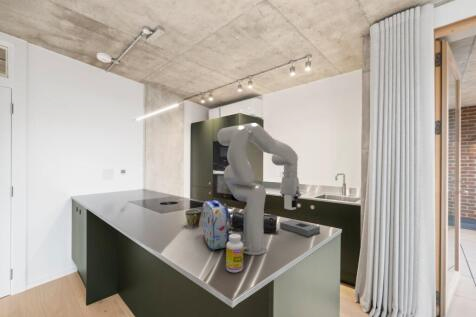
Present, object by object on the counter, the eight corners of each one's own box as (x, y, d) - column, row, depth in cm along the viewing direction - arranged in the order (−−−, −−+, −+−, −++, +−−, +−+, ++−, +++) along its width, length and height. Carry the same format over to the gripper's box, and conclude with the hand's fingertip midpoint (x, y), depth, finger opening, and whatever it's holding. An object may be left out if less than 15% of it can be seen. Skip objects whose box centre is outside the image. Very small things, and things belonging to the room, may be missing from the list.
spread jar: (226, 232, 127) (226, 212, 128) (212, 228, 134) (212, 209, 134) (238, 227, 137) (238, 208, 137) (224, 223, 144) (224, 206, 144)
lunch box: (234, 252, 99) (234, 204, 99) (212, 255, 95) (212, 206, 96) (218, 233, 125) (218, 195, 125) (200, 235, 121) (200, 196, 121)
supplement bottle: (232, 275, 79) (232, 240, 79) (222, 267, 84) (223, 235, 85) (246, 269, 83) (246, 236, 83) (236, 263, 88) (236, 231, 89)
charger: (290, 209, 119) (291, 195, 119) (284, 208, 122) (284, 194, 123) (296, 209, 122) (296, 194, 122) (289, 207, 125) (289, 193, 125)
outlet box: (307, 237, 119) (307, 230, 119) (280, 228, 134) (280, 222, 134) (319, 233, 126) (319, 226, 126) (292, 225, 142) (292, 219, 142)
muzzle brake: (276, 235, 123) (276, 216, 123) (228, 231, 129) (229, 213, 129) (276, 229, 132) (276, 213, 132) (232, 226, 138) (232, 210, 138)
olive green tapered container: (183, 225, 140) (183, 210, 140) (198, 223, 144) (198, 208, 144) (187, 231, 128) (188, 214, 128) (204, 229, 133) (204, 213, 133)
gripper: (274, 173, 127) (274, 204, 126) (298, 175, 113) (298, 210, 113) (283, 173, 131) (282, 203, 131) (307, 175, 118) (306, 208, 118)
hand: (290, 206), depth 122 cm, fingers closed on charger, 4 cm apart
